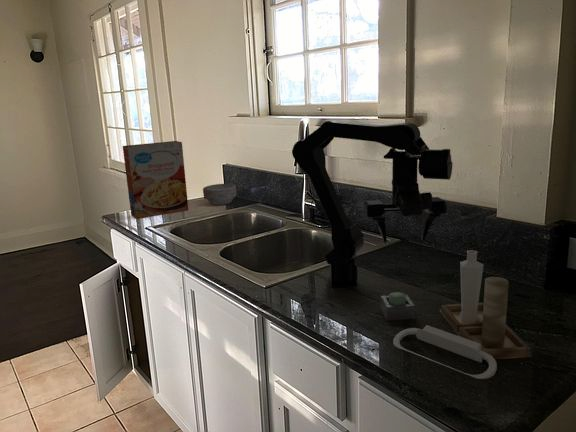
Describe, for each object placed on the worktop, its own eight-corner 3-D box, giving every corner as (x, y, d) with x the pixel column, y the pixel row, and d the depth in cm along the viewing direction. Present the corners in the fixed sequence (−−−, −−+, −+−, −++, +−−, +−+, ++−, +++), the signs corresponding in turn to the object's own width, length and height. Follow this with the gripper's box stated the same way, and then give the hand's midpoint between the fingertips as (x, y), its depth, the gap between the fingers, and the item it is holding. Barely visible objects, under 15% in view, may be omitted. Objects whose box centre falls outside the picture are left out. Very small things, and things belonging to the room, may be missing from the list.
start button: (390, 316, 108) (391, 299, 107) (387, 309, 111) (387, 292, 110) (407, 315, 108) (407, 298, 107) (403, 308, 111) (403, 291, 110)
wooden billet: (486, 350, 93) (490, 285, 90) (478, 340, 97) (481, 277, 94) (507, 349, 93) (512, 284, 90) (498, 338, 97) (502, 276, 94)
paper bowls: (197, 204, 230) (195, 187, 228) (221, 198, 241) (220, 182, 239) (219, 208, 220) (218, 190, 218) (243, 201, 232) (242, 184, 230)
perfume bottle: (464, 325, 103) (467, 256, 99) (453, 316, 107) (456, 249, 103) (484, 322, 104) (488, 254, 100) (473, 313, 108) (477, 247, 104)
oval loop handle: (386, 354, 98) (383, 339, 96) (409, 330, 102) (406, 316, 101) (484, 396, 84) (483, 379, 82) (506, 366, 88) (505, 350, 87)
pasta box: (136, 219, 208) (127, 147, 200) (131, 215, 214) (122, 145, 207) (188, 210, 219) (181, 142, 212) (181, 207, 226) (175, 140, 219)
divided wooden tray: (477, 364, 90) (477, 352, 90) (438, 314, 111) (439, 303, 110) (531, 361, 90) (532, 349, 90) (483, 311, 111) (484, 301, 110)
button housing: (386, 324, 107) (386, 307, 106) (380, 312, 113) (380, 296, 112) (414, 322, 107) (414, 305, 106) (406, 310, 113) (407, 294, 112)
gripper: (372, 186, 108) (372, 254, 112) (456, 181, 109) (454, 249, 113) (362, 177, 119) (363, 239, 123) (439, 173, 120) (437, 235, 123)
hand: (403, 241), depth 120 cm, fingers open, 9 cm apart
